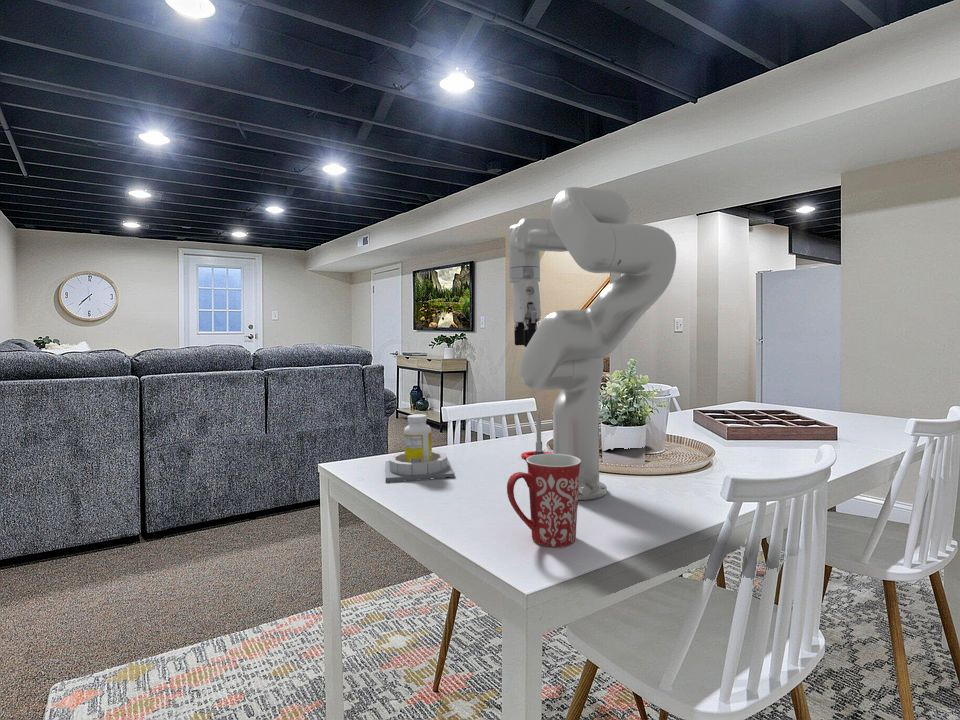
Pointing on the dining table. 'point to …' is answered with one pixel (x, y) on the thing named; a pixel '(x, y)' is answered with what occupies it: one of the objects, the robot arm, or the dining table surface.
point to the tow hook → (538, 442)
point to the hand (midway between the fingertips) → (525, 345)
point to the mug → (550, 498)
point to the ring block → (418, 468)
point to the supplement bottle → (417, 439)
